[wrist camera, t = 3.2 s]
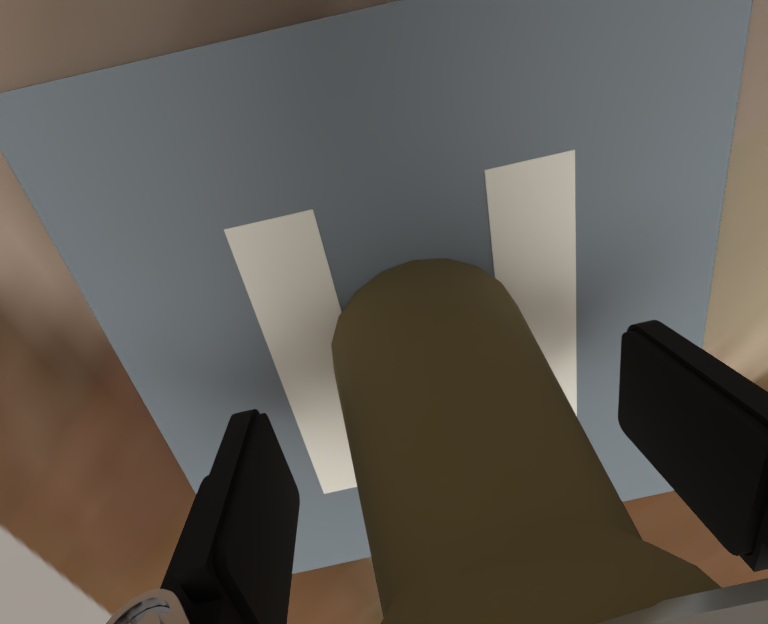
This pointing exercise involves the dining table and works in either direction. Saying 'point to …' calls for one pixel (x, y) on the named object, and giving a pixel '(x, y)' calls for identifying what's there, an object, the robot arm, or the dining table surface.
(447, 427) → the cork
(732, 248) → the dining table surface
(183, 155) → the letter sheet
